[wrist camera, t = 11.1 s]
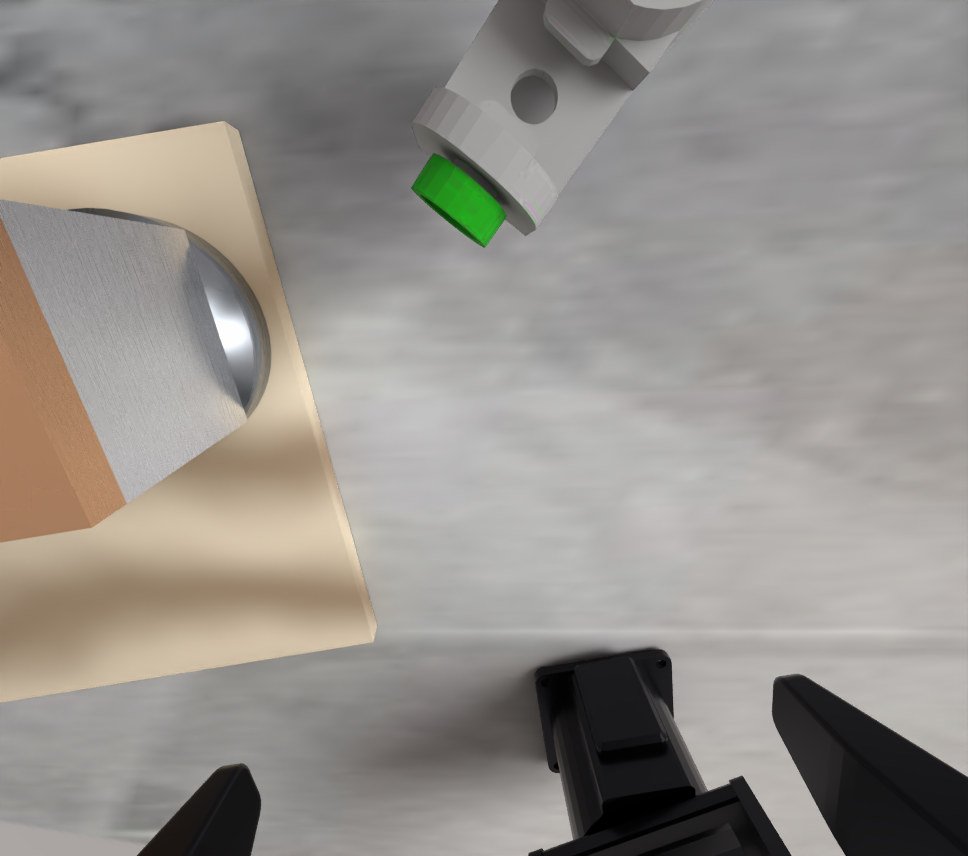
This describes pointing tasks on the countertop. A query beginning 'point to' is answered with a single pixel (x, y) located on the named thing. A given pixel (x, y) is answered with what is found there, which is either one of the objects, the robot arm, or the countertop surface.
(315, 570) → the workboard
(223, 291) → the grey frying pan
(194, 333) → the tan box
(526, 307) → the countertop surface
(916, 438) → the countertop surface
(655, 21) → the mechanical component
